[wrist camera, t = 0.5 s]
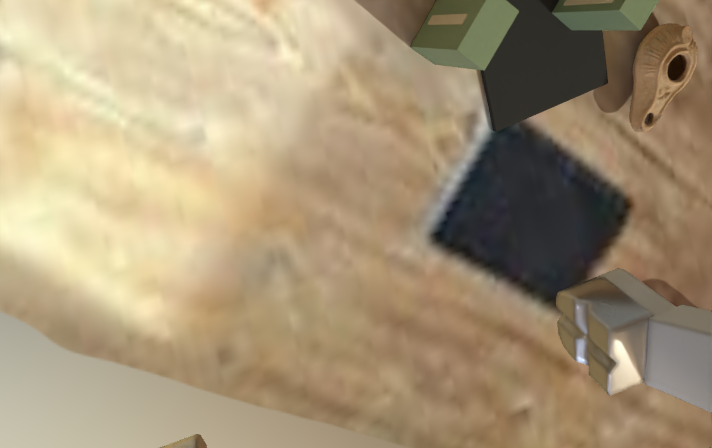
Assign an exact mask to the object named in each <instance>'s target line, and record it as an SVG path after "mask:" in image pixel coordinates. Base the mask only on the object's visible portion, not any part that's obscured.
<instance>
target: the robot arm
mask: <svg viewBox="0 0 712 448" xmlns="http://www.w3.org/2000/svg"><path fill="white" fill-rule="evenodd" d="M556 303H557V308H558V309H560V310H561V311H562V312H563V313H562V314H561V316H560V318H559V320H558V322H557V324H558V334H559V336H560V339H561V341H562V344H563V346H564V347H565V349H566V350H567V352H568V353H569V354H570V355H571V357H572V358H573V359H574V360H575V361H577V362H580V363H583V364H586V365H589V375H590V376H591V377H592V378H593V379H594V380H595V381H596V382H597V383H598V385H599V386H600V387H601V388H602V389H603V390H604V391H605V392H606V393H607V394H608V395H609V396H610V395H613V394H615V393H618V392H620V391H623V390H625V389H628V388H630V387H633V386H636V385H638V384H641V383H643V382H645V384H646V385H649V386H651V387H653V388H656V389H658V390H660V391H662V392H665V393H667V394H669V395H672V396H674V397H676V398H679V399H681V400H683V401H686V402H688V403H690V404H693V405H695V406H697V407H700V408H702V409H704V410H707V411H709V412H711V413H712V311H709V310H704V309H700V308H696V307H691V306H687V305H680V306H677V307H676V306H675V305H673V304H672V303H671V302H669V301H668V300H666V299H665V298H663V297H662V296H661V295H659V294H658V293H656V292H655V291H654V290H652V289H651V288H649V287H648V286H647V285H645V284H644V283H642V282H641V281H640V280H638V279H637V278H635V277H634V276H633V275H631V274H630V273H628V272H627V271H626V270H624V269H620V268H617V269H615V270H612V271H610V272H607V273H605V274H602V275H600V276H598V277H595V278H593V279H590V280H588V281H585V282H583V283H580V284H578V285H575V286H573V287H570V288H568V289H565V290H563V291H560V292H558V295H557V297H556ZM160 448H207V445H206V443H205V442H204V440H203V438H202V437H201V435H199V434H196V435H193V436H190V437H188V438H185V439H182V440H179V441H177V442H174V443H171V444H168V445H166V446H163V447H160ZM710 448H712V447H710Z"/></svg>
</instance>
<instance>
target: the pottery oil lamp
mask: <svg viewBox="0 0 712 448" xmlns="http://www.w3.org/2000/svg"><path fill="white" fill-rule="evenodd" d="M697 60H698V54H697V46H696V42H695V41H694V39H693V36H692V29H691V27H690V26H680V25H678V24H671V23H669V24H664V25H661V26H657V27H655V28H654V29H653V30H651V31H650V32H649V33H648V34H647V35H646V36H645V38H644V39H643V40H642V42H641V43H640V45H639V47H638V50H637V53H636V57H635V60H634V63H633V70H632V71H633V78H634V85H633V93H632V100H631V106H630V115H629V119H630V123H631V126H632V128H633V129H634V130H635V131H637V132H644V131H648V130H650V129H651V128H653V127H654V126H655V124H656V123H657V121H658V120H659V118H660V117H661V115H662V113H663V112H664V110H665V108H666V107H667V105H668V104H669V103H670V101H671V100H672V98H673V97H674V96H675V95H676V94H677V93H678V92H679V91H680V90H682V89H683V87H685V85H686V84H687V83H688V82H689V80H690V78H691V77H692V74H693V72H694V69H695V67H696V64H697Z"/></svg>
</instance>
